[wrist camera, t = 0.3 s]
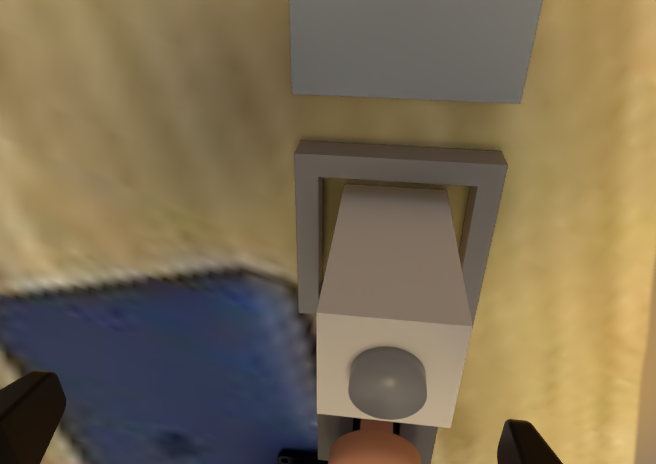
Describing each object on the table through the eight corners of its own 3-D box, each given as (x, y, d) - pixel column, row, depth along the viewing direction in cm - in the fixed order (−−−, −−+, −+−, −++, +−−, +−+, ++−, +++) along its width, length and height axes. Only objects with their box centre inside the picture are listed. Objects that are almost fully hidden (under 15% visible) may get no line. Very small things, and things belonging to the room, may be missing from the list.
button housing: (425, 410, 29) (428, 472, 26) (326, 400, 30) (317, 459, 27) (437, 337, 26) (443, 397, 23) (327, 327, 27) (317, 383, 23)
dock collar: (468, 308, 25) (472, 328, 24) (303, 294, 26) (298, 312, 25) (501, 151, 21) (508, 165, 19) (300, 140, 21) (294, 153, 20)
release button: (414, 445, 26) (417, 533, 23) (334, 436, 27) (323, 520, 23) (423, 390, 24) (428, 477, 20) (336, 381, 25) (324, 464, 21)
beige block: (433, 273, 24) (452, 448, 16) (342, 266, 25) (313, 433, 16) (446, 190, 22) (476, 346, 13) (344, 183, 22) (312, 330, 14)
